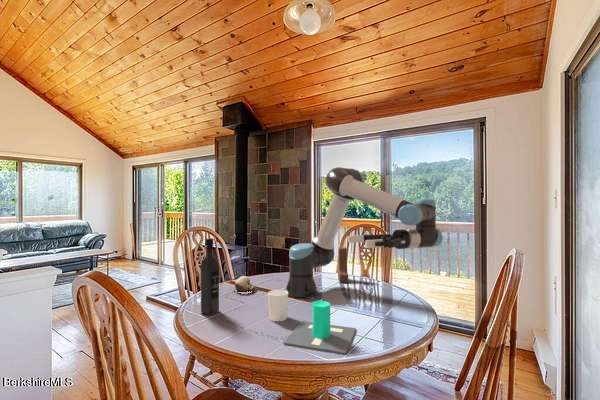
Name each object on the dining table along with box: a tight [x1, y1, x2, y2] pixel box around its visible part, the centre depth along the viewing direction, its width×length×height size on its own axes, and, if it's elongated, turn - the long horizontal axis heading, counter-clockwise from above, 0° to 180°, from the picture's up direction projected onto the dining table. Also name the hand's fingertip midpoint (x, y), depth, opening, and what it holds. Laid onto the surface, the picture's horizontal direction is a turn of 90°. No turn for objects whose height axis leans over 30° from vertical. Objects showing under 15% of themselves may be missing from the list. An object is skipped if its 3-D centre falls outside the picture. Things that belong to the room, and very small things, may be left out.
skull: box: [234, 275, 258, 293], centre depth 154 cm, size 12×10×10 cm
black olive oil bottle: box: [200, 238, 220, 315], centre depth 125 cm, size 6×6×30 cm
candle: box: [311, 298, 331, 339], centre depth 102 cm, size 6×6×12 cm
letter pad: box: [283, 320, 357, 355], centre depth 103 cm, size 20×18×1 cm
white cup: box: [267, 289, 289, 323], centre depth 119 cm, size 8×8×10 cm
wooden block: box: [337, 246, 349, 284], centre depth 172 cm, size 9×4×18 cm, turn 179°
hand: (356, 241), depth 114 cm, fingers open, 13 cm apart
